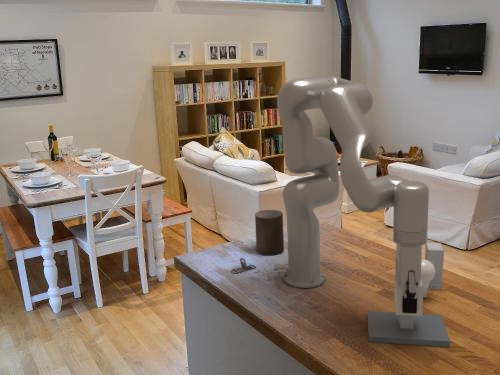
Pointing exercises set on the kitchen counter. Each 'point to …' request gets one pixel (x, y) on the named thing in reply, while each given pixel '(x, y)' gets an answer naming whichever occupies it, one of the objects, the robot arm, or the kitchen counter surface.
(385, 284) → the kitchen counter surface
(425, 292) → the lightbulb
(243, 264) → the strap clip
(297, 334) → the kitchen counter surface
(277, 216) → the pillar candle
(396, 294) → the cream block
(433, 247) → the skincare box
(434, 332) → the post board
